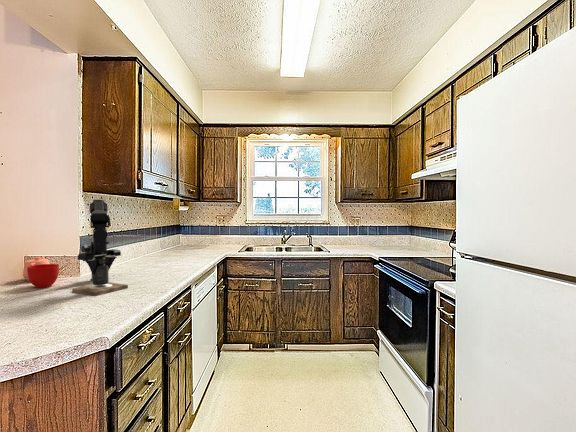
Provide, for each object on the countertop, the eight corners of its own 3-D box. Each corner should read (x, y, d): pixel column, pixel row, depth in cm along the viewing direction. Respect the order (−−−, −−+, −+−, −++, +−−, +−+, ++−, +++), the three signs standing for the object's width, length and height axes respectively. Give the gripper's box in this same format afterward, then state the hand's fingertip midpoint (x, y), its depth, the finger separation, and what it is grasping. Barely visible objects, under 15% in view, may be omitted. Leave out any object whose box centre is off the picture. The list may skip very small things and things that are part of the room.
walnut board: (105, 284, 187) (104, 281, 186) (127, 287, 179) (127, 284, 179) (72, 291, 171) (72, 287, 171) (95, 295, 164) (95, 291, 164)
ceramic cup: (50, 281, 194) (50, 262, 194) (63, 286, 183) (63, 265, 183) (21, 285, 184) (20, 265, 184) (32, 290, 173) (32, 269, 173)
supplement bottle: (111, 282, 178) (111, 257, 178) (103, 285, 172) (102, 259, 171) (98, 282, 179) (97, 257, 179) (89, 285, 172) (88, 259, 172)
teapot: (44, 282, 192) (44, 258, 192) (17, 283, 189) (17, 259, 189) (56, 275, 212) (55, 254, 211) (31, 276, 208) (31, 254, 208)
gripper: (105, 237, 187) (106, 268, 187) (69, 240, 170) (70, 275, 170) (121, 238, 182) (121, 270, 182) (85, 241, 165) (86, 277, 165)
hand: (100, 273), depth 175 cm, fingers closed on supplement bottle, 7 cm apart
